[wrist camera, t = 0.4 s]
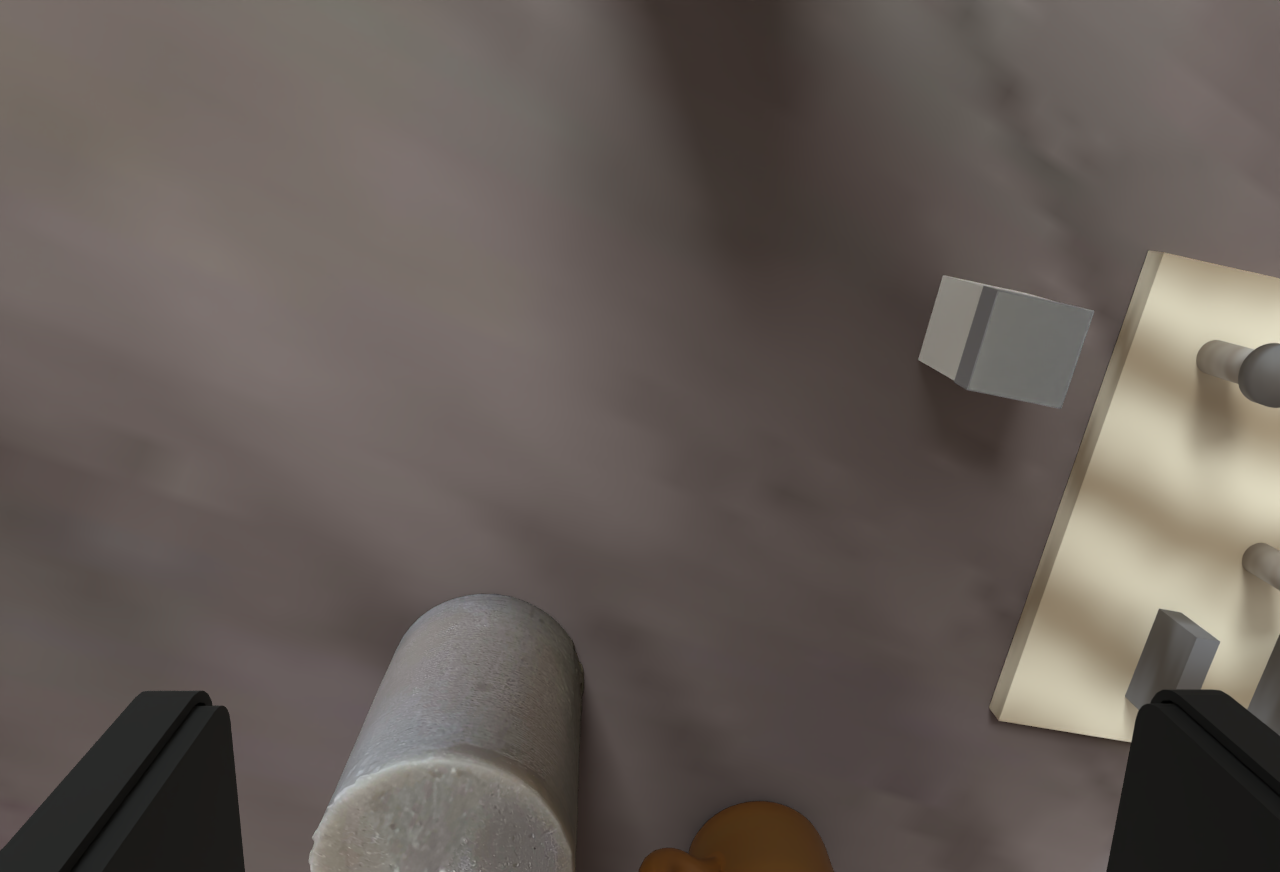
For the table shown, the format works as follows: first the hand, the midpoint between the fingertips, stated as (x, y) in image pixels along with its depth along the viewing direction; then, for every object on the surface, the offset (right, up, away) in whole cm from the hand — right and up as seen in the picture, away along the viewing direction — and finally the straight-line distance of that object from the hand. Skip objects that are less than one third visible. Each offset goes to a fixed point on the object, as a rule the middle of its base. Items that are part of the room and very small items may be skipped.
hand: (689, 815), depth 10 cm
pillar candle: (-8, -8, +37) cm, 39 cm away
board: (+27, 0, +37) cm, 46 cm away
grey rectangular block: (+15, +9, +34) cm, 38 cm away
